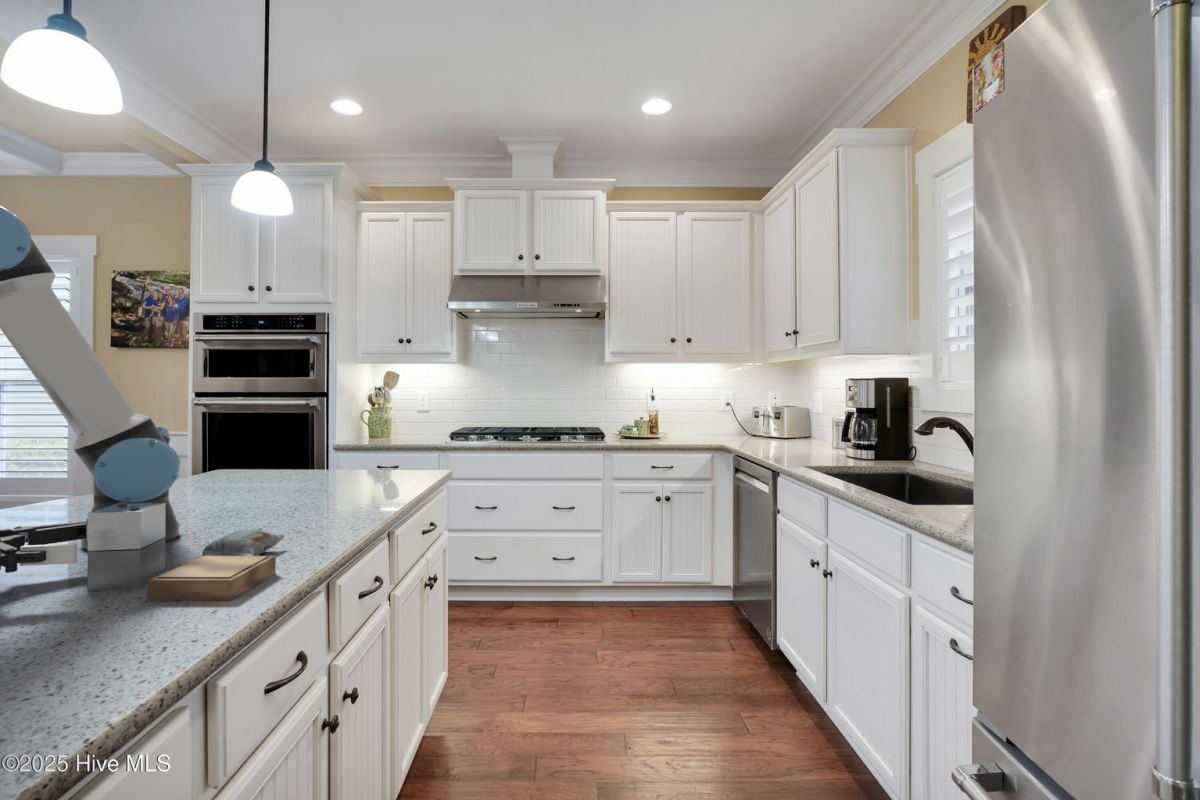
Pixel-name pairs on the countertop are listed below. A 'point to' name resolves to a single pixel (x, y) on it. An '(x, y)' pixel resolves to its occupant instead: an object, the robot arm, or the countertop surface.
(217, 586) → the stand
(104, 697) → the countertop surface
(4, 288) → the robot arm
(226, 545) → the packaged food
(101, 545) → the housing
